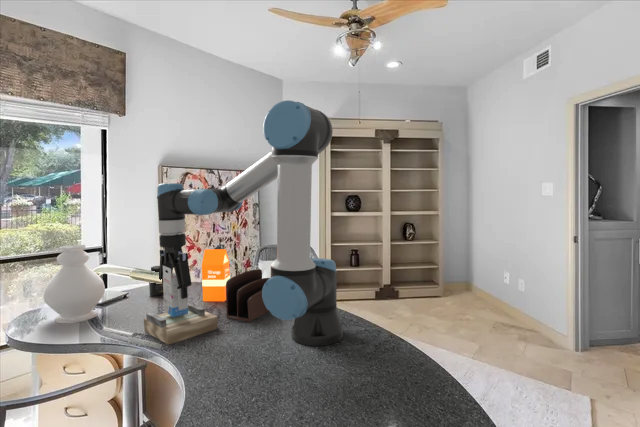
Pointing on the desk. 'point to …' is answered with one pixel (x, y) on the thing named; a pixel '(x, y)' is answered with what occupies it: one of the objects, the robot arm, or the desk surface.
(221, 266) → the orange juice
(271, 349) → the desk surface
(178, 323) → the box
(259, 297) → the letter holder
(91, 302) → the decorative vase
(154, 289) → the supplement bottle
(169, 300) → the ink box
